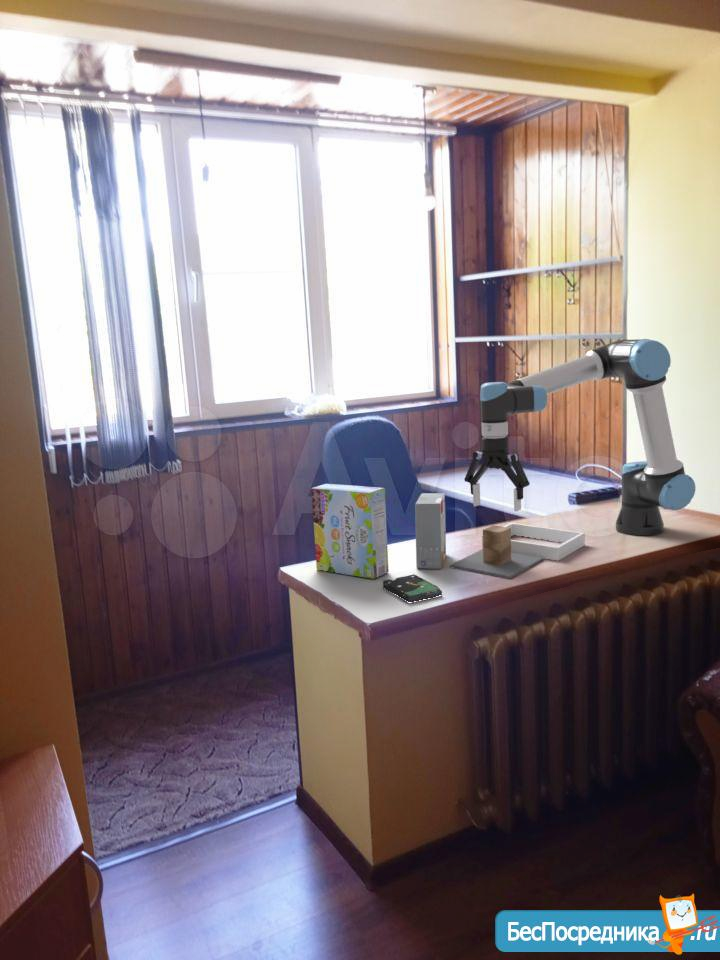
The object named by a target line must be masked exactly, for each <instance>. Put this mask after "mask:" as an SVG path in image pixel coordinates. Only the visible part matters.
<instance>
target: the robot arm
mask: <svg viewBox="0 0 720 960" xmlns="http://www.w3.org/2000/svg"><path fill="white" fill-rule="evenodd" d="M671 360H672V359H671V355H670V351H669V350H668V348H667V347H666V346H665V345H664V344H663V343H662V342H660V341H657V340H655V339H650V338H643V339H640V338H638V339H620V340H616V341H613V342H609V343H607V344H604V345H602V346H599V347H596V348H594V349H591V350H587V352H586V353H585V355H584V356H582V357H578V358H575V359H573V360H569V361H567V362H564V363H561V364H558V365H555V366H552V367H549V368H547V369H544V370H541V371H538V372H535V373H532V374H529V375H527V376H524V377H520V378H518V379H516V380H512V381H508V382H504V381H495V382H494V381H492V382H491V381H490V382H485V383H483V384H481V386H480V392H479V393H480V394H479V395H480V398H479V401H480V412H481V413H480V415H481V416H480V417H481V420H480V421H481V436H482V438H481V449H482V452H481V451H480V450H477V451H475V452H473V453H472V460H471V462H470V465H469V467H468V470H467V472H466V474H465V477H464V482H465V483H466V482H467V483H469V485H470V494H471V495H472V501H473V502H472V503H473V504H472V505H473V507H477V506H478V507H479V506H481V486H480V485H481V484H480V483H479V480H480V479H481V478H482V477H483V475H484V474H485V473H486V471H487V470H488V469H496V470H500V469H501V470H502V472H504V473H505V475H506V476H507V477H508V479H509V480H510V482H511V483H512V484H513V486H515V488H513V506H514V507H513V511H514V512H518V511H520V510H522V500H523V499H524V488H526V487H529V486H530V481H529V479H528V477H527V475H526V472H525V471H524V469H523V466H522V464H521V462H520V457H519V454H518V453H513V454H509V437H508V435H509V422H508V421H509V416H508V415H514V414H515V415H517V414H527V413H528V414H529V413H533V414H534V413H535V412H536V413H537V412H542V411H544V410H545V409H546V407H547V404H548V395H551V394H553V393H556V392H560V391H562V390H564V389H568V388H571V387H573V386H576V385H579V384H582V383H585V382H588V381H590V380H594V381H600V380H602V379H607V378H623V380H624V384H625V388H626V390H627V391H630V392H631V393H632V395H633V396H632V398H633V401H634V406H635V410H636V415H637V420H638V424H639V429H640V430H639V431H640V433H641V434H640V435H641V439H642V444H643V449H644V454H645V458H646V461H645V460H644V461H631V462H627V463H625V464H623V466H622V468H621V469H622V470H621V507H620V510H619V512H618V515H617V518H616V521H615V530H616V531H617V532H620V533H622V534H626V535H632V536H633V535H634V536H654V535H659V534H662V533H663V532H664V531H665V530H664V529H665V527H664V526H665V524H664V520H663V517H662V513H661V511H660V508H662V509H664V510H670V511H678V510H682V509H684V508H686V507H688V505H689V504H690V503H691V501H692V499H693V498H694V497H695V493H696V483H695V480H694V478H692V477H691V476H690V475H689V474H686V472H685V468H684V463H683V461H681V460H679V459H678V458H677V453H676V449H675V443H674V438H673V434H672V429H671V424H670V420H669V413H668V409H667V404H666V398H665V393H664V389H663V385H664V384H665V383H666V382H667V376H666V375H667V374H668V372H669V368H670V367H671ZM481 459H482V460H483V462H482V464H481V465H480V468H478V466H479V464H480V461H481ZM508 461H510V462H511V464H510V463H509V462H508ZM511 465H512V466H511ZM512 467H513V468H512ZM477 468H478V470H477ZM476 470H477V472H476ZM475 472H476V473H475ZM661 532H662V533H661Z"/></svg>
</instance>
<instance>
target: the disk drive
mask: <svg viewBox="0 0 720 960" xmlns="http://www.w3.org/2000/svg"><path fill="white" fill-rule="evenodd" d="M382 586H383V589H384V588H385V589H386V590H385V589H384V590H385V591H387V590H388V591H387V592H389V591H390V592H392V593H394V594H396V595H398V596H399V597H401V598H403V599H404V600H406V601H408V602H414V601H419V600H423V599H428V598H433V597H436V596H439V595H442V596H443V591H442V590H441V588H440V587H439V586H437V585H435V584H433V583H431V582H430V581H427V580H426V579H424V578H422V577H420V576H419V575H416V574H415V573H413V574H409V575H404V576H400V577H396V578H395V579H386V580H382ZM390 592H389V593H390ZM392 593H391V594H392ZM394 594H393V595H394ZM399 597H398V598H399ZM433 599H434V598H433Z"/></svg>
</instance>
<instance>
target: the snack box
mask: <svg viewBox="0 0 720 960" xmlns="http://www.w3.org/2000/svg"><path fill="white" fill-rule="evenodd" d="M310 489H311V501H312V517H313V532H314V533H313V534H314V548H315V549H314V550H315V562H316V563H315V565H316V571H319V570H324V571H323V572H326V571H329V573H333V572H335V573H334V574H339V573H340V574H341V575H345V576H346V575H347V576H353V577H360V578H366V579H373V580H374V579H377V578H379V577H382V576H384V575H385V574H387V573H389V570H390V569H389V556H388V555H389V554H388V552H389V549H388V533H387V531H388V529H387V510H386V508H387V506H386V488H385V487H375V486H363V485H351V484H350V485H349V484H337V483H335V484H334V483H324V484H321V485H318V486H314V487H311V488H310Z"/></svg>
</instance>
